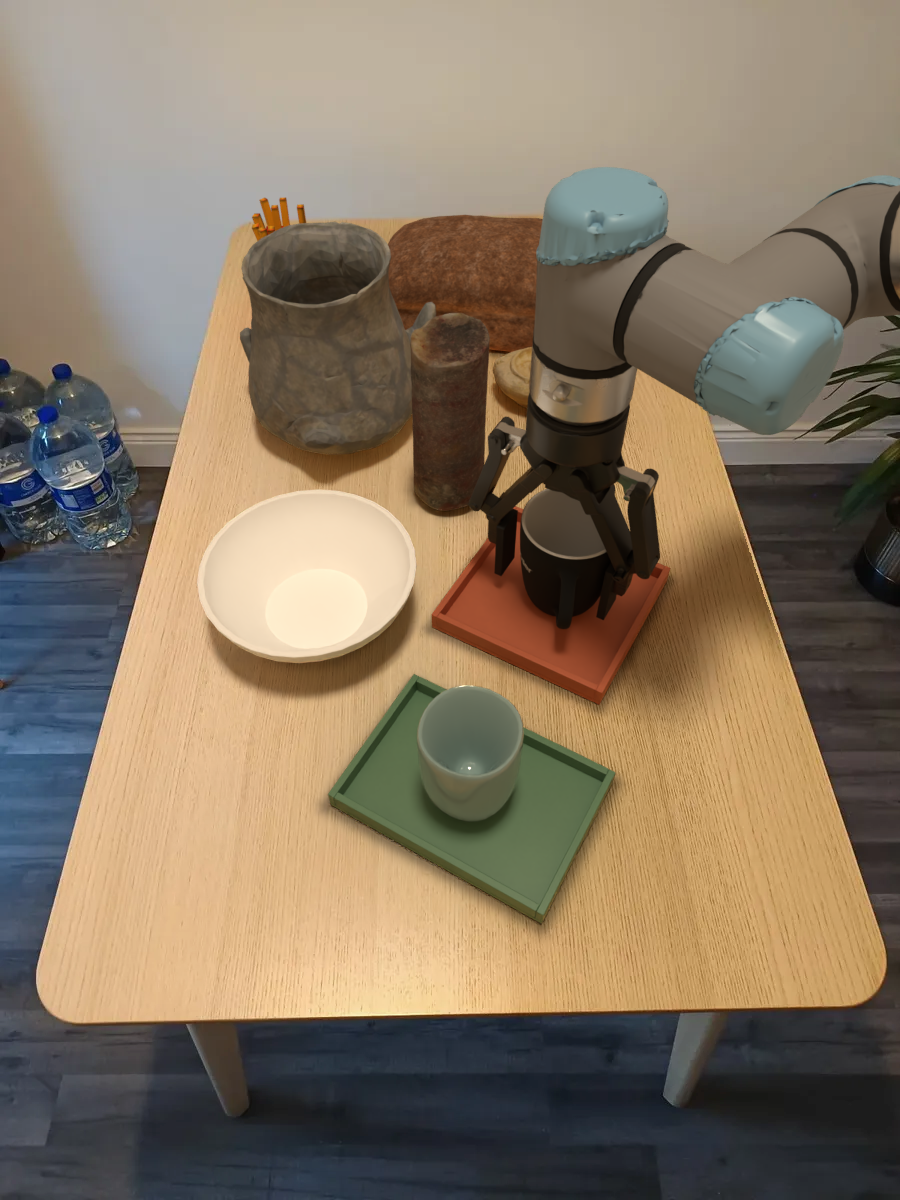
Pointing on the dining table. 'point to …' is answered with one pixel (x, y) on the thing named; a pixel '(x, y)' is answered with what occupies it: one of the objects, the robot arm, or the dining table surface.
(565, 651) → the terracotta tray
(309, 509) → the bowl
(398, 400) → the vessel
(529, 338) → the bread
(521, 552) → the mug
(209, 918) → the dining table surface
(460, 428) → the candle
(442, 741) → the cup
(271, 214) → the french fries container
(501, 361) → the oil lamp
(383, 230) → the dining table surface
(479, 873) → the green tray
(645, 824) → the dining table surface
